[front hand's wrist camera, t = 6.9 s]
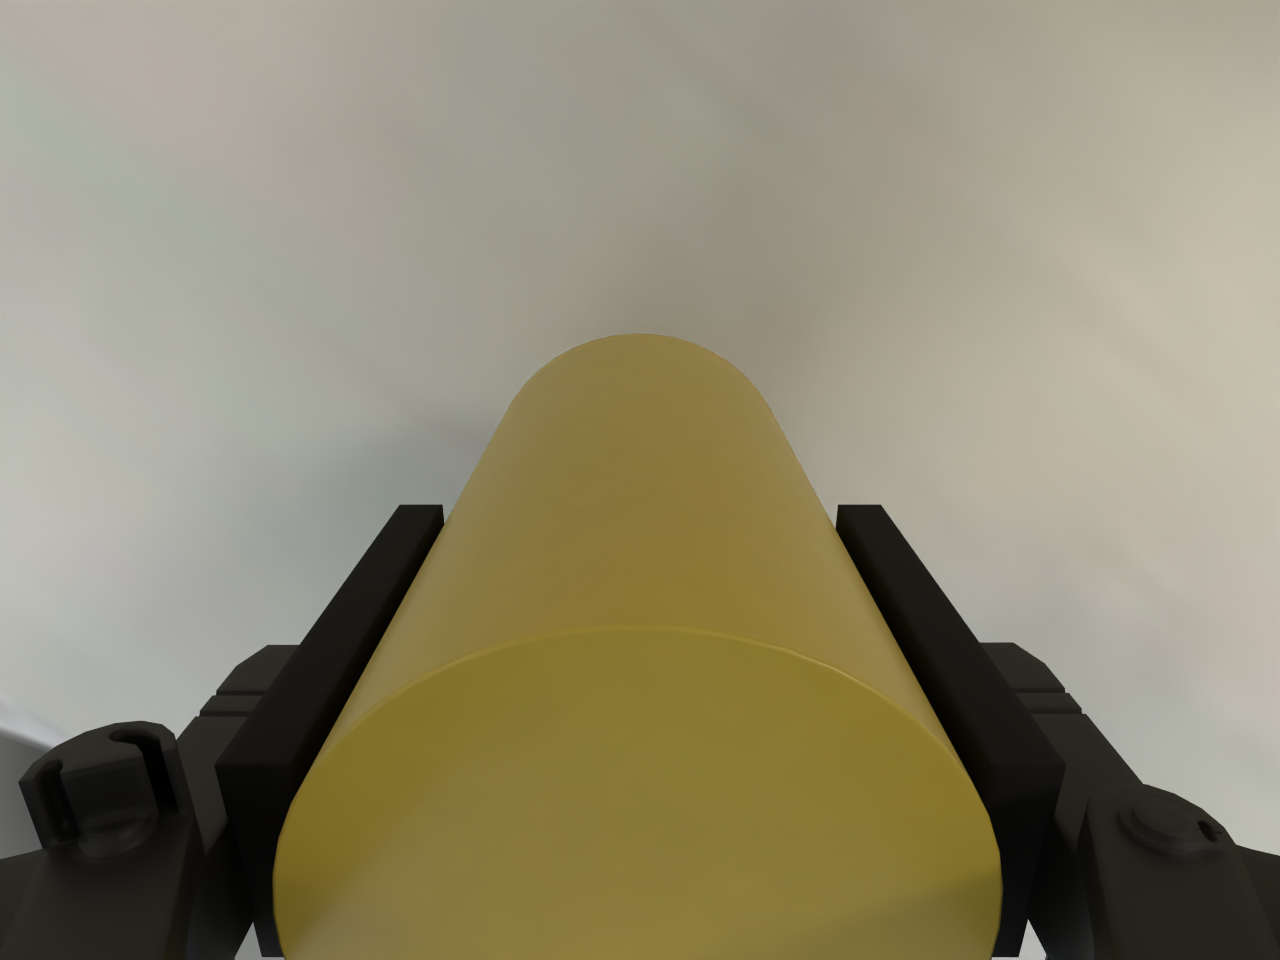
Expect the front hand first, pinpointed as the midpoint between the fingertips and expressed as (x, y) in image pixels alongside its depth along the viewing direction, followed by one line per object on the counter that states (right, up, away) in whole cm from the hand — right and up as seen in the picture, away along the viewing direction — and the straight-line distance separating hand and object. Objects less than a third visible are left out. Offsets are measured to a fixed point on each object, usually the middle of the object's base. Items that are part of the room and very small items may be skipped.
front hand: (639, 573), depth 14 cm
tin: (0, +2, +4) cm, 5 cm away
